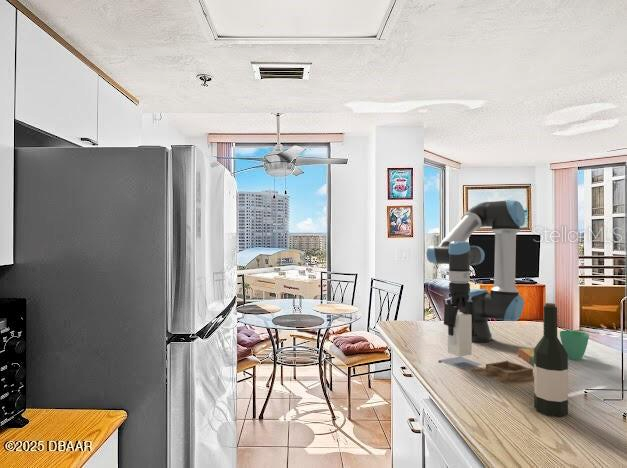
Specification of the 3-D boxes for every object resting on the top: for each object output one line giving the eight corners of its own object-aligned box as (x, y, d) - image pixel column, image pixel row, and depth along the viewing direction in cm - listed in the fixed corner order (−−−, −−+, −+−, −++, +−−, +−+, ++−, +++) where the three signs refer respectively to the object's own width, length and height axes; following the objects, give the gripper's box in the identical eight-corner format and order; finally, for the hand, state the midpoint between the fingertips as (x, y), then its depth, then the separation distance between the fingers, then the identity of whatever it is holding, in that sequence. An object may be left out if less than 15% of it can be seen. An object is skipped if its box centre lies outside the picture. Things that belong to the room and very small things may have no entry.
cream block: (448, 352, 158) (447, 313, 158) (459, 350, 160) (459, 312, 160) (459, 356, 152) (459, 316, 152) (471, 354, 155) (471, 314, 155)
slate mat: (438, 362, 159) (438, 360, 159) (460, 358, 164) (460, 356, 164) (459, 370, 149) (459, 368, 149) (481, 366, 154) (481, 364, 154)
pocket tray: (469, 371, 148) (469, 362, 148) (505, 365, 155) (505, 356, 155) (512, 388, 132) (512, 378, 132) (550, 380, 139) (550, 370, 139)
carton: (539, 359, 164) (539, 348, 164) (560, 372, 148) (560, 360, 148) (517, 358, 165) (517, 347, 165) (535, 372, 149) (535, 360, 149)
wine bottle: (527, 405, 119) (527, 301, 119) (555, 404, 120) (554, 301, 120) (546, 417, 111) (545, 306, 111) (575, 416, 111) (574, 306, 112)
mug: (591, 363, 156) (591, 337, 157) (561, 360, 161) (561, 334, 161) (584, 353, 170) (584, 329, 170) (556, 350, 174) (556, 327, 174)
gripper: (446, 284, 149) (447, 348, 149) (485, 281, 157) (485, 342, 157) (432, 282, 156) (433, 343, 156) (470, 279, 164) (471, 338, 164)
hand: (459, 342), depth 156 cm, fingers closed on cream block, 6 cm apart
